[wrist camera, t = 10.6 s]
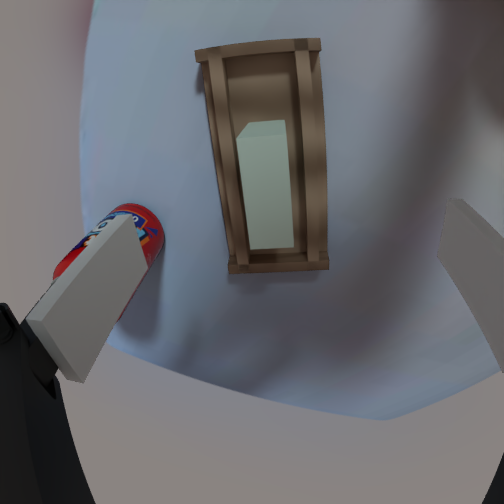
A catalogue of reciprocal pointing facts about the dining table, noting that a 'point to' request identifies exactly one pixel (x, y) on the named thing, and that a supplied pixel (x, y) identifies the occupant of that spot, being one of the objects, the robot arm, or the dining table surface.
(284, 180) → the pale green block
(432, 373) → the dining table surface
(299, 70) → the wooden tray
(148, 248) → the soda can
